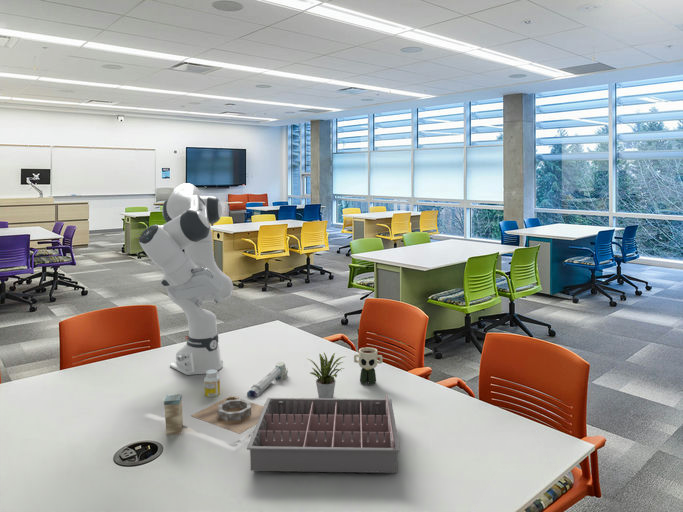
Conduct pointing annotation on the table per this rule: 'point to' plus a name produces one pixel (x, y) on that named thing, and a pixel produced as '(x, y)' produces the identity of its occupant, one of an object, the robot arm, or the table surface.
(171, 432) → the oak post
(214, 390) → the supplement bottle
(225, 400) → the oak ring
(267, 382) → the electric toothbrush
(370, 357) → the character mug
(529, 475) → the table surface
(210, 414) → the collar board
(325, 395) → the house plant
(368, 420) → the organizer tray
